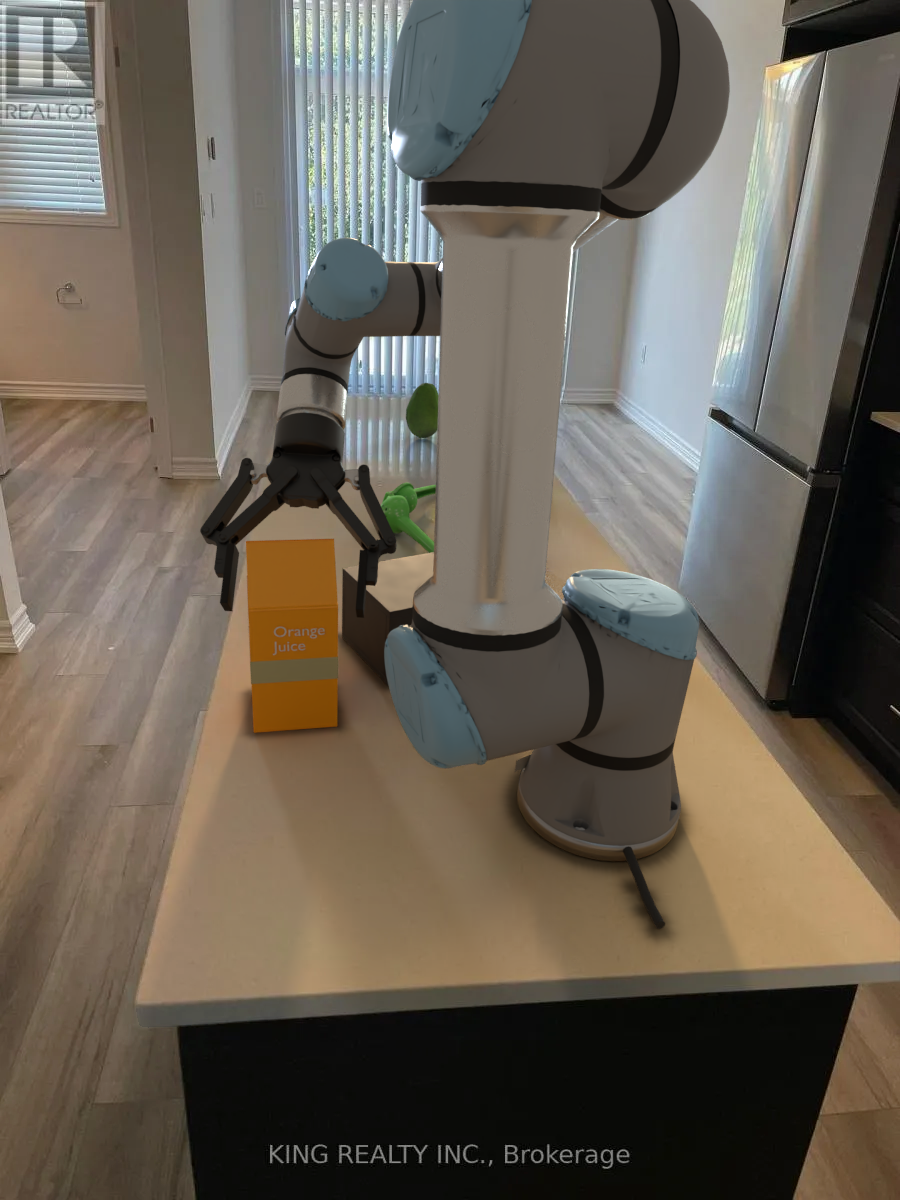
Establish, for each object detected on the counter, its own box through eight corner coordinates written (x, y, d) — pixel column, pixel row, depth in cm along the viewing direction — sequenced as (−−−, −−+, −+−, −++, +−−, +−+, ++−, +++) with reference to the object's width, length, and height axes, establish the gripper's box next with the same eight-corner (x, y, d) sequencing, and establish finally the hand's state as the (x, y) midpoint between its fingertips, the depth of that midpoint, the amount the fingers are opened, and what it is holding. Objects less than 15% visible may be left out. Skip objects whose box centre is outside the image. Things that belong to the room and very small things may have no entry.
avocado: (446, 437, 192) (450, 383, 187) (427, 444, 186) (430, 388, 181) (417, 430, 196) (419, 376, 190) (397, 437, 190) (399, 382, 184)
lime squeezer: (451, 568, 129) (454, 529, 126) (372, 564, 129) (373, 525, 126) (449, 493, 159) (451, 460, 156) (385, 489, 159) (386, 456, 156)
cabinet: (441, 615, 116) (445, 549, 111) (492, 659, 106) (499, 589, 102) (341, 637, 109) (342, 567, 104) (387, 685, 99) (389, 612, 95)
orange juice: (338, 727, 91) (339, 554, 82) (252, 733, 89) (244, 557, 80) (330, 687, 98) (331, 523, 89) (251, 692, 96) (243, 525, 87)
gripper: (423, 449, 99) (414, 626, 92) (203, 437, 98) (178, 615, 91) (425, 416, 92) (415, 605, 85) (188, 402, 91) (160, 592, 84)
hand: (293, 610), depth 88 cm, fingers open, 13 cm apart
